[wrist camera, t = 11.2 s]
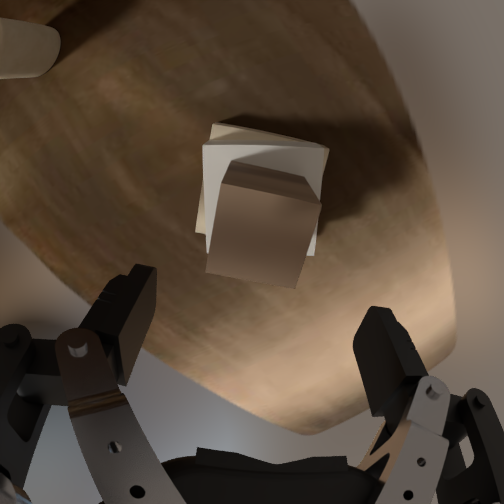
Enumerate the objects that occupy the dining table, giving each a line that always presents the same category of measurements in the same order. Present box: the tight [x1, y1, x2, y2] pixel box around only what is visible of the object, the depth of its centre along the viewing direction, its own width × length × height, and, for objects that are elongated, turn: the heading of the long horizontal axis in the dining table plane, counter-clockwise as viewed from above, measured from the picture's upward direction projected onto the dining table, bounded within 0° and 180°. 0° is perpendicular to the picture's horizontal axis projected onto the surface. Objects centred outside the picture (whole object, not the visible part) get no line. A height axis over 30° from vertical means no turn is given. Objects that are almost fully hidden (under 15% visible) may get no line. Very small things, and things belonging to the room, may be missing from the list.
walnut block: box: [205, 161, 322, 289], centre depth 18 cm, size 5×5×6 cm
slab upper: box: [203, 140, 324, 256], centre depth 22 cm, size 8×8×3 cm
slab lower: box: [195, 122, 330, 234], centre depth 25 cm, size 9×9×3 cm
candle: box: [0, 18, 61, 79], centre depth 14 cm, size 6×6×10 cm
